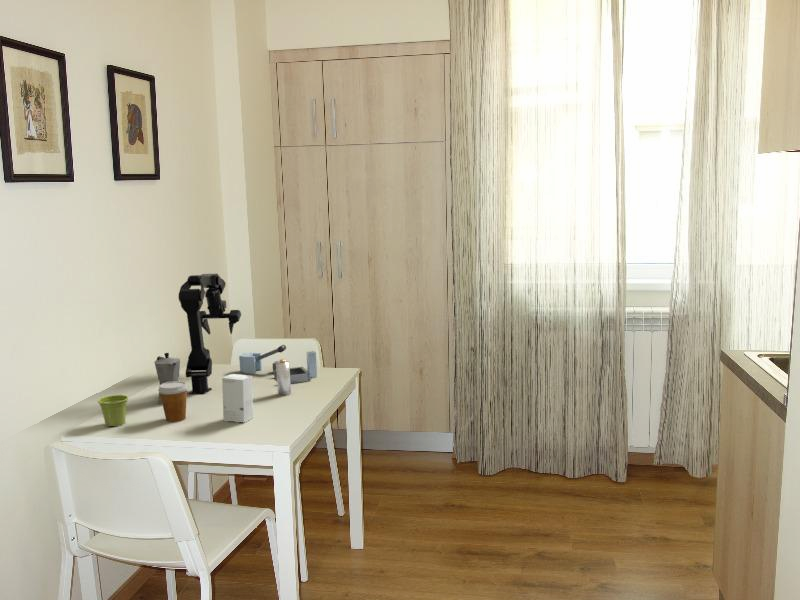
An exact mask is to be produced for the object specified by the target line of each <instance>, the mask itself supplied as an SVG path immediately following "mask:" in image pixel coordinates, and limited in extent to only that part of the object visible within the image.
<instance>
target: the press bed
mask: <svg viewBox="0 0 800 600" xmlns="http://www.w3.org/2000/svg"><path fill="white" fill-rule="evenodd" d="M306 366H307V368H305V367H304V366H297V367H290V383H292V384H298V383H297V382H300V383H305V381H307V382H311V380H312V379H311V377H313V378H318V373H317V372H318V369H317V354H316V352H315V351H314V350H311V351H306ZM273 376H274V379H275V380H276V381H277V371H276V370H274V374H273Z"/></svg>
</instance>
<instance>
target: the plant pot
mask: <svg viewBox="0 0 800 600" xmlns="http://www.w3.org/2000/svg"><path fill="white" fill-rule="evenodd" d="M128 399H129V396H128V395H124V394H116V395H115V394H114V395H107V396H104V397H101V398H99V399H98V400H97V403H98V404H99V407H101V411H102V415H103V419H104V420H103V421H104V424H105V426H106V425H107V426H106V427H109V426H111V427H119V426H118V425H120V426H123V425H124V424H125V423H126V417H127V415H126V414H127V413H126V412H127V403H128V401H129V400H128ZM122 424H123V425H122Z"/></svg>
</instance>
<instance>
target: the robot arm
mask: <svg viewBox="0 0 800 600" xmlns="http://www.w3.org/2000/svg"><path fill="white" fill-rule="evenodd" d="M191 287H200V288H191ZM225 288H226V281H225V280H224V279H222V278H221V276H220V275H219V274H218V273H202V274H198V275H197V274H195V275H194V274H192V275H191V274H190V275H189V276H187V280H186V281H185V282H184V283H182V285H181V286H180V289H179V293H178V301H179V302H180V307H181V309H182V310H183V311H184V312H185V313H186V317H187V325H188V333H189V340H190V347H191V348H190V349H191V350H190V352H189V354H188V357H187V363H186V366H185V367H186V368H185V377H186V378H190V379H191V390H190V391H188V394H202V395H203V394H207V393H208V392H210V391H211V390H213V388H212V387H209V382H208V381H209V380H208V377H209V378H210V376H211V375H212V374H213V373H212V372H213V360H212V358H211V353H210V350H209V348H206V347H205V343H204V336H203V330H204V331H205V332H206V333H207V334H208V335H211V329H210V325H209V322H208V320H216V319H218V320H219V319H228V329H229V332H230V335H232V334H233V330H234V325H235V324H236V323H238V322H239V321H240V319H241V317H242V312H241V310H240V309H231V310H230V312H229V313H227V312H226V309H227V301H226V300H225V299H224V300H222V298H221V295H222V294H223V292H224V291H225ZM205 289H206V291H205ZM204 299H206V303H207V304H206V305H207V311H208V313H207V311H205V310H201V308H202V306H203V304H204ZM225 312H226V313H225Z"/></svg>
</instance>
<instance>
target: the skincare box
mask: <svg viewBox="0 0 800 600" xmlns="http://www.w3.org/2000/svg"><path fill="white" fill-rule="evenodd" d="M221 384H222V387H221V388H222V414H223V415H222V416H223V419H222V420H223V422H228V421H235V422H234V423H239V422H243V423H242V424H244V422H245V423H247V422H248V420H249V421H251V420H252V419H254V413H253V412H254V407H253V405H254V404H253V403H254V401H253V376H252V375H248V374H239V373H237V374H235V373H229V374H228V375H225V376H223V377H222V383H221ZM250 419H251V420H250ZM246 421H247V422H246Z"/></svg>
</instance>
